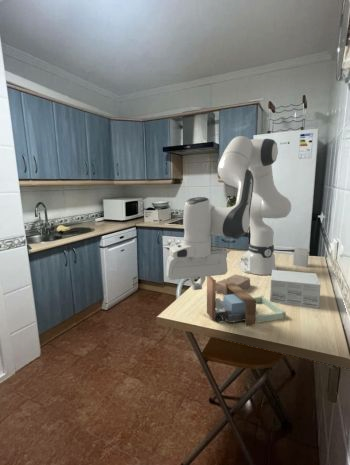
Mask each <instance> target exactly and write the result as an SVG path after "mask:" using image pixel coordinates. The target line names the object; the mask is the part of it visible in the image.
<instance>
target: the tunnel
mask: <svg viewBox="0 0 350 465" xmlns="http://www.w3.org/2000/svg"><path fill="white" fill-rule="evenodd" d="M234 293H235V294H236V295H237V296H238V297H240V298H241V299H242V300H243V301H244V302H245V303H246V310H245V320H244V325H245V326H247V327H248V326H249V327H251V326H256V322H255V320H256V315H257V313H256V312H257V303H256V300H255V299H254V298H253V297H254V296H252V295H251V294H249V293H248V292H246V291H245V290H242V289H241V288H240V287H239V286H237V285H236V284H235V283H233V282H230V283H226V292H225V295H230V294H234Z"/></svg>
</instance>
